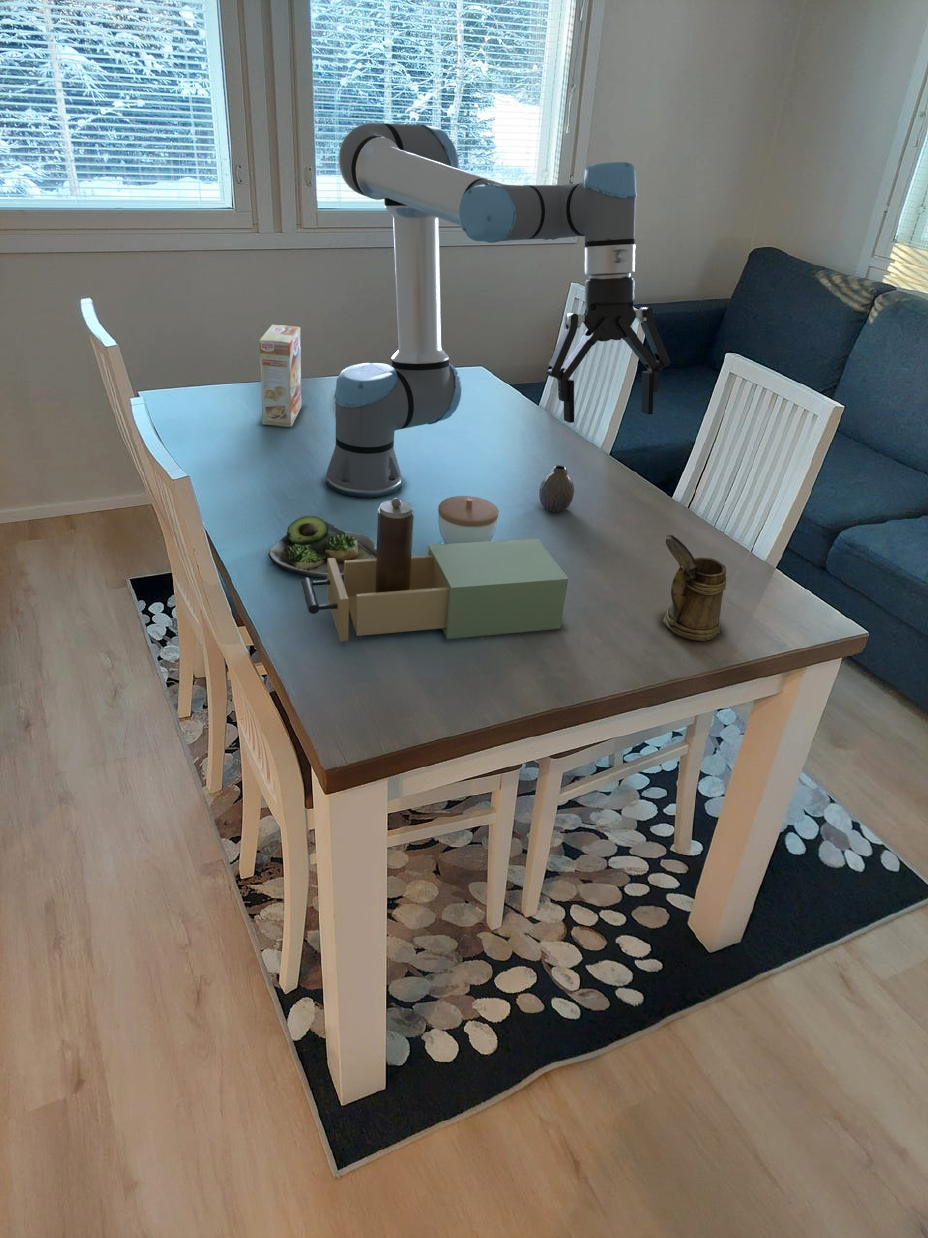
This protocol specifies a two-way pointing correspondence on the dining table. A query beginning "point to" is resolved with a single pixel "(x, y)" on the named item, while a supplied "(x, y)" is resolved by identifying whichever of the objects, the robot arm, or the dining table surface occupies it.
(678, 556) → the wooden mug
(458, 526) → the trinket box
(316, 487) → the dining table surface
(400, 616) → the drawer
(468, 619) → the cabinet
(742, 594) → the dining table surface
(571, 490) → the vase
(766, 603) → the dining table surface
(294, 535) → the salad plate
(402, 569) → the pepper mill
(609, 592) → the dining table surface
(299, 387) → the coffeecake box
